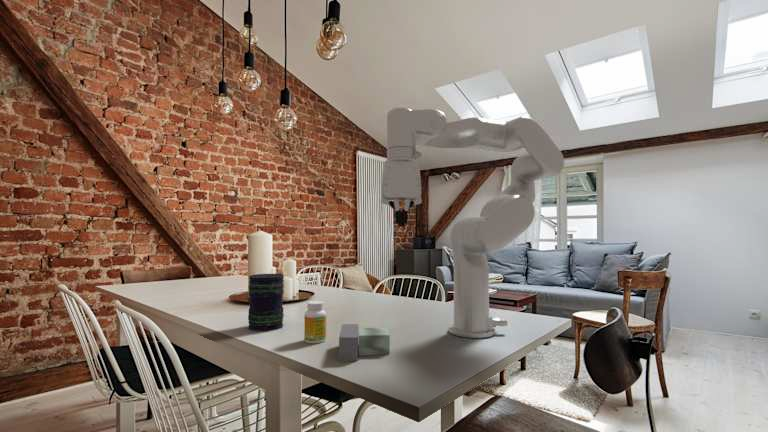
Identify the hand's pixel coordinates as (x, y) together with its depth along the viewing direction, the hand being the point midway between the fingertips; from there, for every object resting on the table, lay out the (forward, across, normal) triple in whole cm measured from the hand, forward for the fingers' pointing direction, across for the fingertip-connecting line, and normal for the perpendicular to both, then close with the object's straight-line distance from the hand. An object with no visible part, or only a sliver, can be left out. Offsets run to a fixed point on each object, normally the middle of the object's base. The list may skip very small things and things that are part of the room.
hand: (401, 226), depth 101 cm
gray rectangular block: (+29, +13, +10) cm, 33 cm away
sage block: (+29, +7, +8) cm, 31 cm away
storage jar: (+29, +38, -15) cm, 50 cm away
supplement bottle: (+29, +22, 0) cm, 37 cm away
